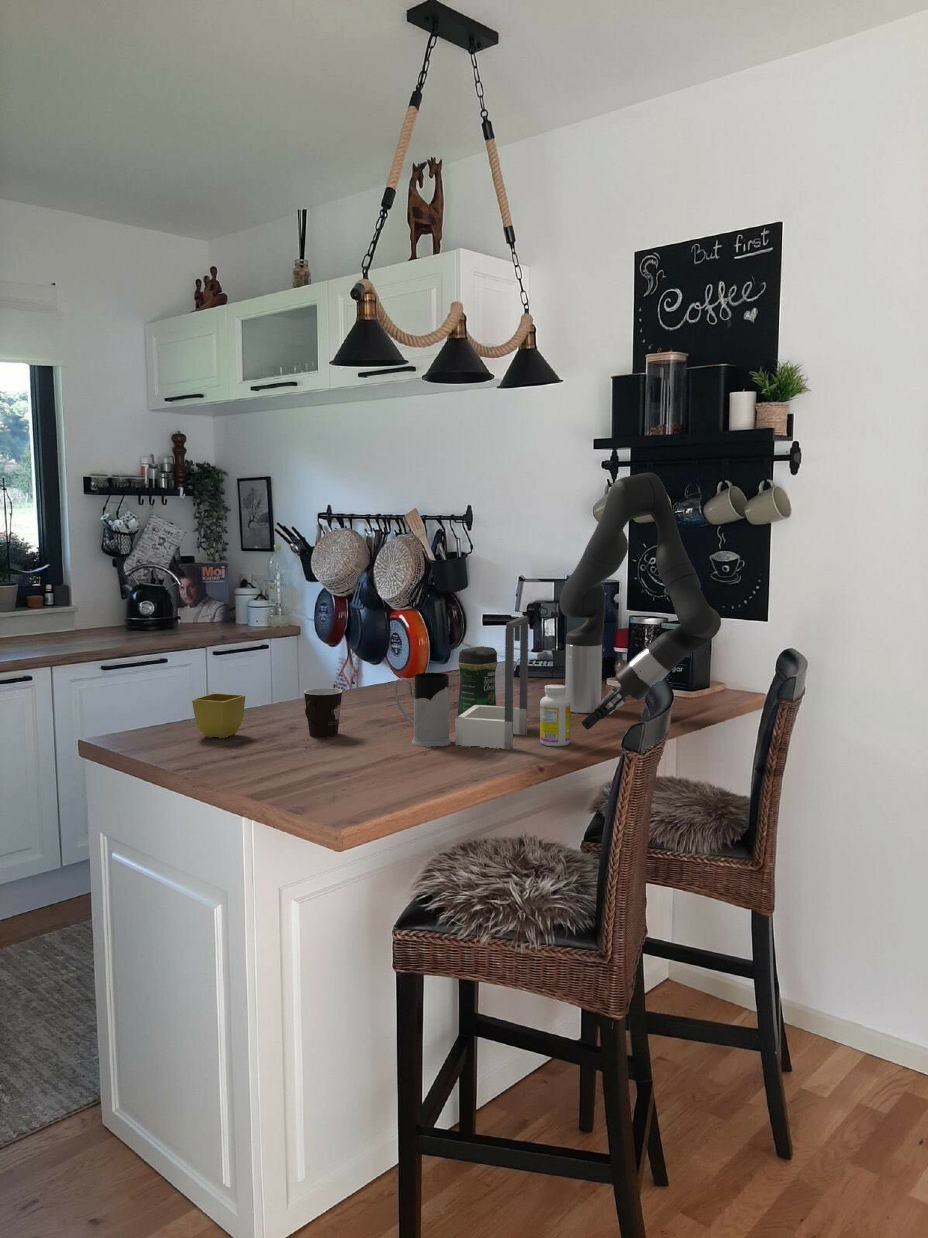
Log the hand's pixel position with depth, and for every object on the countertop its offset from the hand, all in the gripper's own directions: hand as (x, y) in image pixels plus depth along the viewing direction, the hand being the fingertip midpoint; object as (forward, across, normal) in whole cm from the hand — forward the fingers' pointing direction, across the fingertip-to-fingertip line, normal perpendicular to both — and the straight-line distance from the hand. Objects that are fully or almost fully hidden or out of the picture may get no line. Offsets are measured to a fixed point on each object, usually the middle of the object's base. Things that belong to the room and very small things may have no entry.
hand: (584, 726), depth 211 cm
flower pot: (+60, +15, -54) cm, 82 cm away
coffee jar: (+23, -16, -17) cm, 33 cm away
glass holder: (+28, +6, -22) cm, 36 cm away
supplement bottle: (+8, 0, -1) cm, 8 cm away
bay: (+18, 0, -11) cm, 21 cm away
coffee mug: (+45, +8, -39) cm, 60 cm away
